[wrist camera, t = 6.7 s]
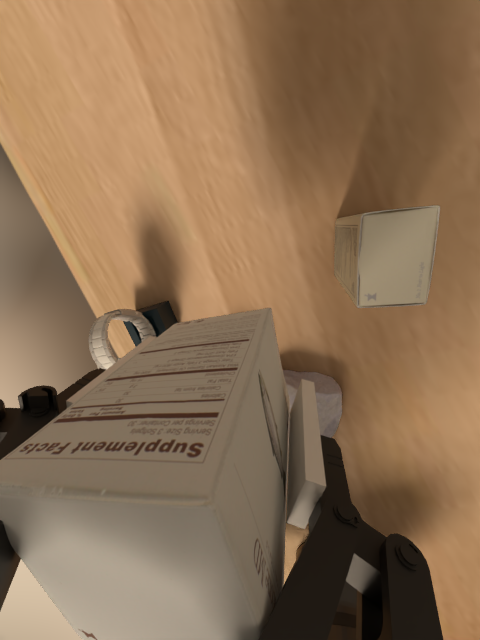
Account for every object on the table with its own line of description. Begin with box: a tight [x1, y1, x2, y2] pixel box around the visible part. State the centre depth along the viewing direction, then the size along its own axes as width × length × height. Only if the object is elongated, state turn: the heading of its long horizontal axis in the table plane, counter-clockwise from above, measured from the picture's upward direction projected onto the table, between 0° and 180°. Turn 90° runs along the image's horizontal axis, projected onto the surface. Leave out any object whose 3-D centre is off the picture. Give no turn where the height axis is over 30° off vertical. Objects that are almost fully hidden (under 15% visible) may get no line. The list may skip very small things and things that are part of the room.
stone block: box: [283, 370, 342, 450], centre depth 34 cm, size 12×5×10 cm
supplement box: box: [0, 308, 290, 640], centre depth 12 cm, size 7×7×13 cm
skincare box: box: [334, 205, 440, 308], centre depth 21 cm, size 6×4×12 cm
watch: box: [89, 301, 178, 370], centre depth 30 cm, size 6×8×11 cm
